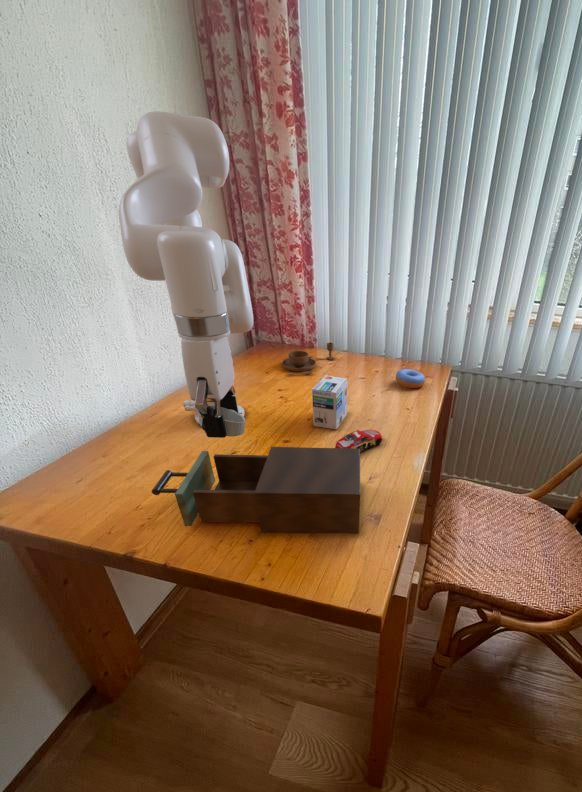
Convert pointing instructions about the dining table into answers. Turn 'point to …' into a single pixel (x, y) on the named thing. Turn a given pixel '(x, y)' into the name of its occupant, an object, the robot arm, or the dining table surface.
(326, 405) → the light bulb box
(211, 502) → the drawer
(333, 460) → the cabinet
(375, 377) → the dining table surface
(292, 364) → the place setting
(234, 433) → the wristwatch
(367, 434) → the race car
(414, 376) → the doughnut
